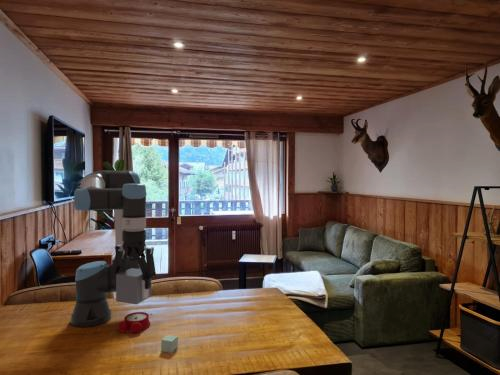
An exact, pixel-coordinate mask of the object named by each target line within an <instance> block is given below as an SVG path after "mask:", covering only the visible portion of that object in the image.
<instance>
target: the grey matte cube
mask: <svg viewBox="0 0 500 375" xmlns="http://www.w3.org/2000/svg"><path fill="white" fill-rule="evenodd" d="M143 279H144V277H143V274H142V272H141V269H134V268H131V269H128V270H126V271H123V272H121V273H118V274H116V292H115V300H116V301H115V302H119V303H125V304H132V305H138V304H140V303H142V302H144V301H145V300H147V299H149V298H150V297H152V279H151V280H150V288H149V297H147V298H146V299H144V300H143V299H142V280H143Z"/></svg>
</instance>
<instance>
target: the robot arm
mask: <svg viewBox="0 0 500 375" xmlns="http://www.w3.org/2000/svg"><path fill="white" fill-rule="evenodd" d="M73 206H74V210H76V211H85V212H87V211H105V210H106V211H108V210H109V211H111V210H112V211H113V210H114V230H115V231H114V234H115V236H114V237H115V240H114V241H115V245H114V250H115V254H114V257H113V258H112V259H111V264H108V263H107V262H106V261H105V260H97V261H92V262H87V263H85V264H82V265H80V266H79V267H78V268H76V271H75V279H74V281H75V304H74V307H73V310H72V314H71V317H70V323H71V325H72V326H74V327H77V328H78V327H79V328H87V327H88V328H89V327H95V326H99V325H102V324H105V323H107V322H108V321H109V320H111V319H112V310H111V308H110V305H109V302H108V299H107V298H108V297H107V294H109V293H111V294H112V293H116V274H118V273H121V272H123V271H126V270H128V269H131V268H134V269H141V272H142V274H143V277H144V279H143V280H142V299H143V300H144V299H145V300H147V299H148V298H147V297H149V288H150V280H151V281H152V278H155V277H156V276H157V273H156V272H157V271H156V266H155V265H156V264H155V259H154V250H155V248H154V247H153V246H151V247H149V246H147V245H146V240H147V231H146V228H147V214H146V213H147V212H146V211H147V186H146V185H145V184H144V183H141V180H140V176H139V173H138V172H137V171H133V170H105V169H104V170H97V171H93V172H91V173H90V172H89V173H87V175H85V176H84V177H83V178H82V180H81V181H80V188H76V189H75V190H74V193H73ZM146 298H147V299H146ZM149 298H150V297H149ZM145 300H144V301H145Z"/></svg>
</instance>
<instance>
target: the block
mask: <svg viewBox="0 0 500 375" xmlns="http://www.w3.org/2000/svg"><path fill="white" fill-rule="evenodd" d="M178 340H179V336H178V335H172V334H167V335H166V336H164V337H162V339H161V343H160V345H161V346H160V347H161V349H160V350H161V352H163V353H164V352H165V353H169V354H173V353H174V352H175V351H176V350H177V349H178V348H179V345H178V344H179V341H178ZM175 349H176V350H175Z"/></svg>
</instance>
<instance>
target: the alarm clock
mask: <svg viewBox="0 0 500 375" xmlns="http://www.w3.org/2000/svg"><path fill="white" fill-rule="evenodd" d="M152 315H153V313H150V314H149V313H147V312H145V311H144V312H143V311H136V312H131V313H129V314H126V315H125V316H124V318H123V320H121V321H119V322H118V324H117V329H118V331H119V332H120V333H132V334H134V335H135V334H139V333H140V332H141V331H143V330H146V329H148V328H149V327H150V326H151V321H150V316H152Z"/></svg>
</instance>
